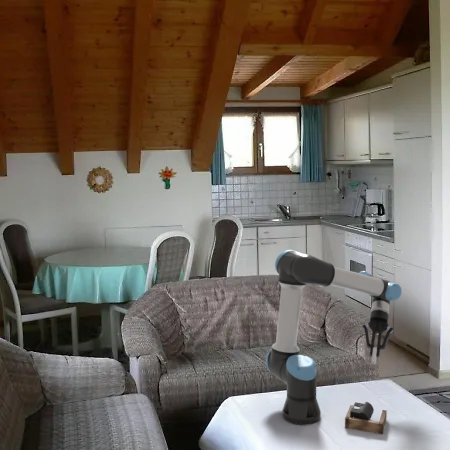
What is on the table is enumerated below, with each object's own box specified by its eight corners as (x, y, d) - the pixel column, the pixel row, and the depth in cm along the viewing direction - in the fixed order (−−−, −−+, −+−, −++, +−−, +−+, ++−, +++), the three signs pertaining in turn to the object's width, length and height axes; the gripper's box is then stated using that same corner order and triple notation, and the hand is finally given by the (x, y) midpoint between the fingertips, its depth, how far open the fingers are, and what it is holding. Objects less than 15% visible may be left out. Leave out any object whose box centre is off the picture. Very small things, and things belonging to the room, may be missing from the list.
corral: (344, 428, 219) (345, 418, 219) (350, 414, 230) (350, 405, 230) (382, 434, 214) (382, 424, 214) (386, 420, 225) (386, 410, 225)
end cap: (368, 430, 217) (368, 413, 217) (349, 426, 221) (349, 410, 220) (373, 419, 226) (373, 402, 226) (355, 415, 229) (355, 399, 229)
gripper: (395, 319, 252) (390, 369, 239) (365, 316, 257) (358, 364, 243) (394, 310, 246) (389, 361, 233) (363, 307, 251) (356, 357, 238)
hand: (373, 363), depth 238 cm, fingers closed
